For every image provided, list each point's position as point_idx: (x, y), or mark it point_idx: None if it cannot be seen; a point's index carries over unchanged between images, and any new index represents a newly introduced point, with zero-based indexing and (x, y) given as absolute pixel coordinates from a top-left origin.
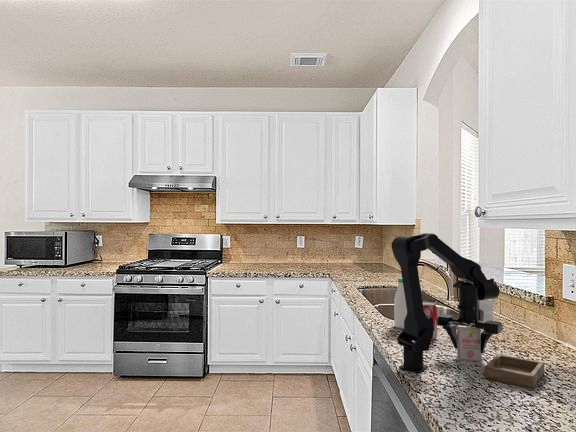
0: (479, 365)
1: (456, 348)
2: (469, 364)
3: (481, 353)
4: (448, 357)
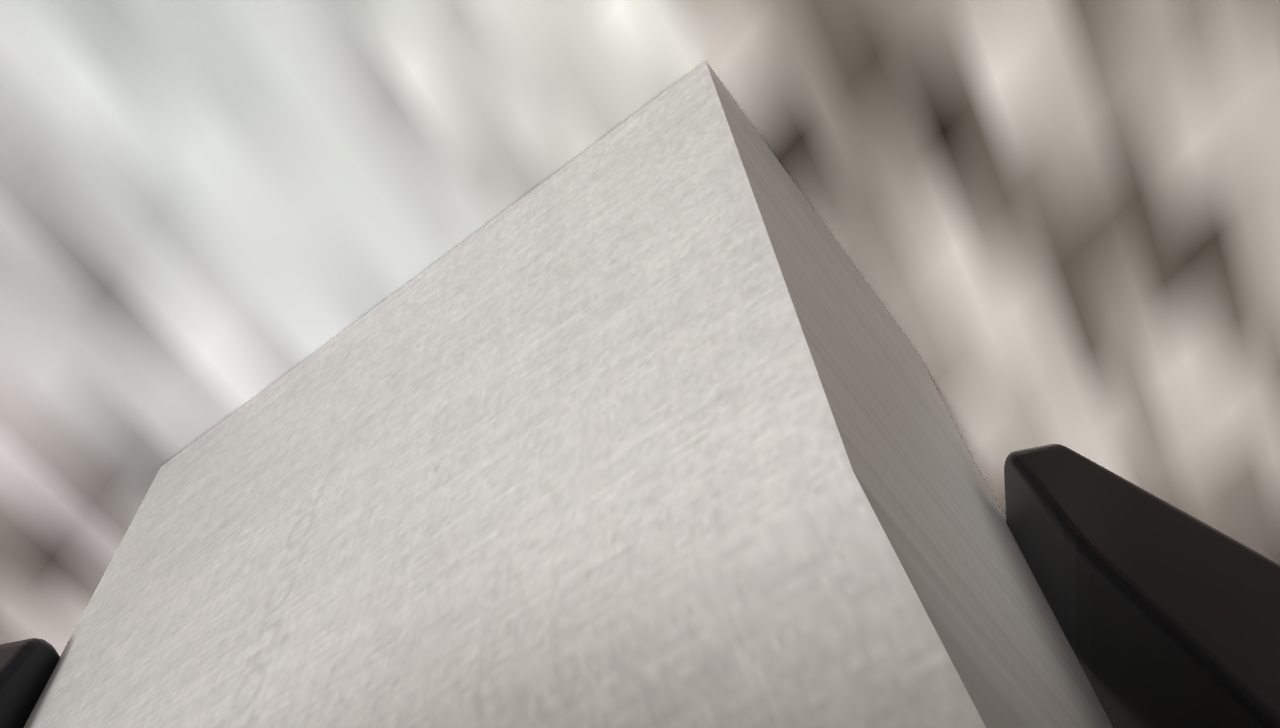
0: None
1: None
2: None
3: (1001, 514)
4: None
